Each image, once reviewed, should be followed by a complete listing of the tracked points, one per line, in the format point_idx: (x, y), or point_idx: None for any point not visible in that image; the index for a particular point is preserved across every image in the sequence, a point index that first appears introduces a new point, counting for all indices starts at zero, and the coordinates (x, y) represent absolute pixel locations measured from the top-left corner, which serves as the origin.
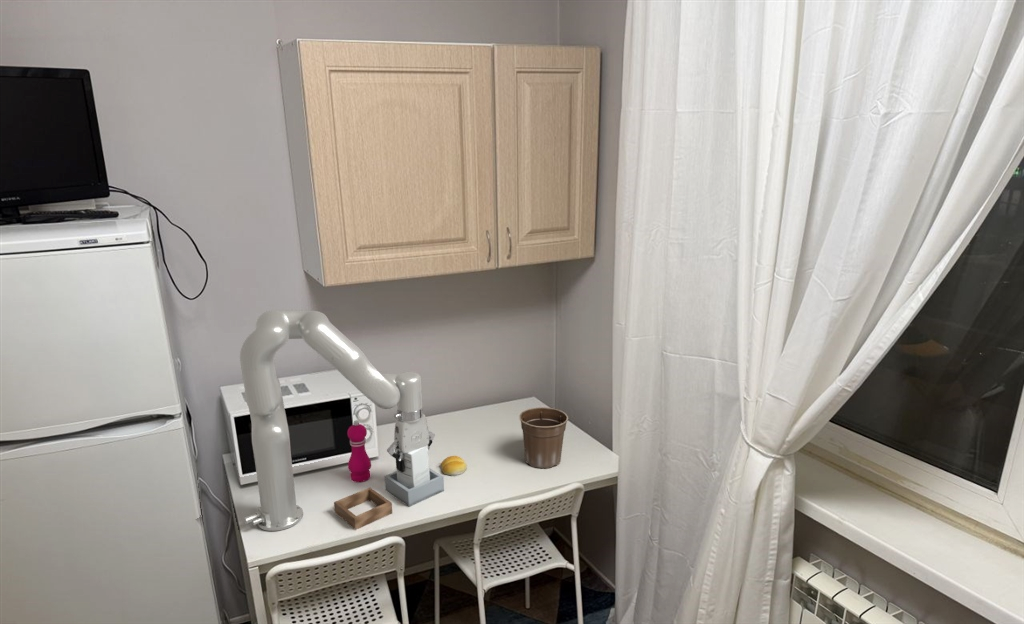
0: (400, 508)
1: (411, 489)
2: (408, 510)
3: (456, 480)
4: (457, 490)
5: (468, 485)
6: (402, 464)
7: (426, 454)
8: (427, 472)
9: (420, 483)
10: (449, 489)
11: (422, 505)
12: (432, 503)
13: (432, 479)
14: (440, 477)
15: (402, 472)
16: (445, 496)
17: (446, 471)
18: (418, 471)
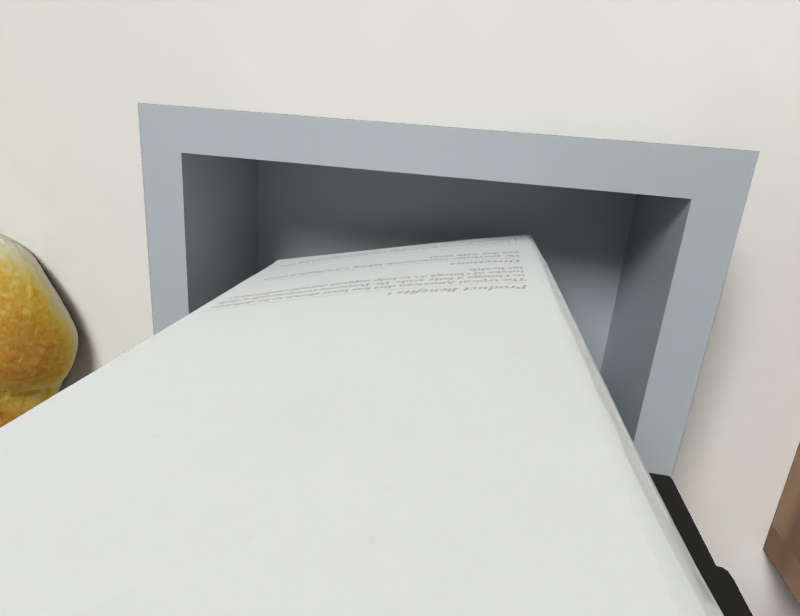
0: (754, 194)
1: (673, 166)
2: (736, 94)
3: (53, 174)
4: (138, 15)
5: (11, 7)
6: (729, 602)
7: (29, 438)
8: (257, 290)
9: (425, 249)
10: (184, 95)
11: (566, 58)
12: (469, 5)
13: (288, 153)
14: (181, 113)
15: (666, 475)
16: (288, 14)
17: (46, 319)
18: (423, 301)
